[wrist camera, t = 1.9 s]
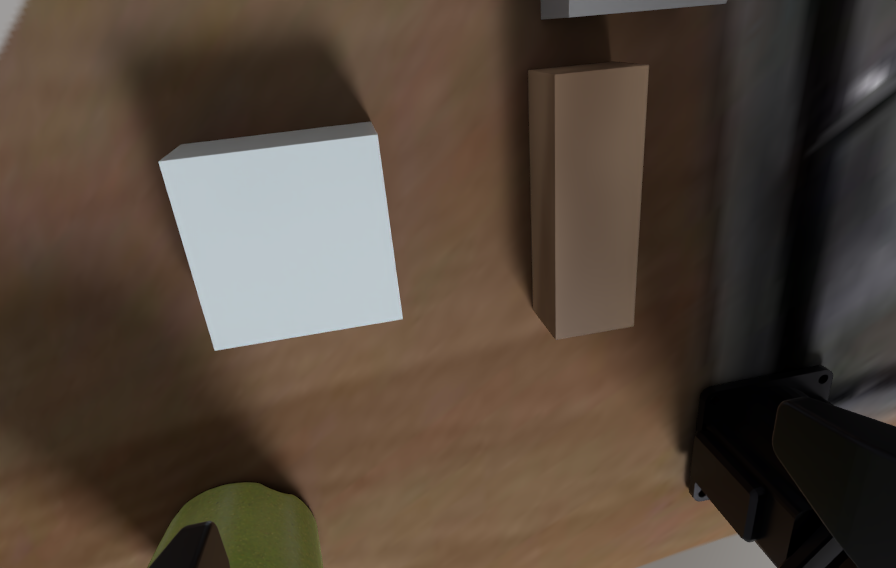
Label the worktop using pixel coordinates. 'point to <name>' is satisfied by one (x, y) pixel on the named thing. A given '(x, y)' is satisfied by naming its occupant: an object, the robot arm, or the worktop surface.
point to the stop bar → (586, 193)
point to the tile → (285, 232)
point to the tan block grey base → (612, 6)
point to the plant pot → (254, 526)
